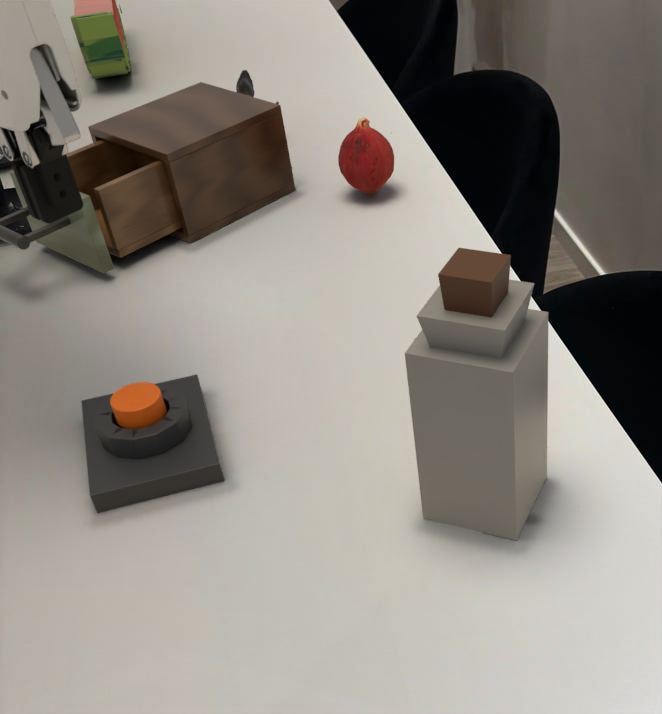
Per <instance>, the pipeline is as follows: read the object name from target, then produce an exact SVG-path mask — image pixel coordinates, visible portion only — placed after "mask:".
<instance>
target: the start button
mask: <svg viewBox="0 0 662 714" xmlns="http://www.w3.org/2000/svg"><path fill="white" fill-rule="evenodd" d="M154 384H155V383H152V382H146V381H145V382H144V381H141V382H139V381H138V382H132V383H130V384H127V385H124V386H122V387H120V388H118V389H117V390H116V391H115V392H113V393H114V394H113V393H112V394H113V395H112V397H111V399H110V405H111V407H112V410H113V413H114V415H115V418H116V421H117V423H118V424H119V426H121V427H122V428H126V429H139V428H144V427H148V426H151V425H153V424H155V423H157V422H158V421H160V420H162V419H163V418H164V417H165V415H166V411H167V409H166V406H165V403H164V400H163V397H162V394H161V391H160V389H159V388H158V387H157V386H156V385H154Z"/></svg>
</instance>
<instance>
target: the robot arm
mask: <svg viewBox="0 0 662 714" xmlns="http://www.w3.org/2000/svg"><path fill="white" fill-rule="evenodd" d="M81 91H82V90H81V88H80V83H79V80H78V76H77V71H76V69H75V66H74V63H73V59H72V57H71V53H70V51H69V48H68V45H67V42H66V38H65V37H64V34H63V31H62V29H61V26H60V23H59V21H58V18H57V15H56V13H55V10H54V8H53V5H52V3H51V0H0V149H1V151H2V153H3V155H4V156H5V158H6V159H7V160H8V161H10V162H11V163H10V165H11V169H12V170H13V171H14V173H15V176H16V178H17V181H18V184H19V186H20V189H21V191H22V194H23V196H24V199H25V201H26V204H27V206H28V209H29V212H30V214H31V216H32V217H33V218H35V219H38V220H41V221H43V222H45V223H48V224H50V223H52V222H55V221H57V220H59V219H61V218H63V217H65V216H68V215H70V214H72V213H74V212H76V211H79V210H80V209H82V208H83V201H82V198H81V195H80V192H79V189H78V187H77V184H76V181H75V178H74V175H73V172H72V170H71V167H70V164H69V161H68V158H67V155H66V154H68V153H69V147H68V144H69V143H73V142H74V141H77V140H79V139H81V136H82V133H81V131H80V128H79V126H78V124H77V121H76V119H75V118H74V116H73V113H72V112H77V111H78V110H79V109H80V107H81V105H82V101H83V98H82V92H81Z"/></svg>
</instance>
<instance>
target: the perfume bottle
mask: <svg viewBox="0 0 662 714" xmlns="http://www.w3.org/2000/svg"><path fill="white" fill-rule="evenodd" d="M511 259H512V255H511V254H507V253H500V252H493V251H492V252H491V251H485V250H479V249H470V248H465V247H458V248H456V250H455V251H454V253H453V254H452V256H450V258H449V259H448V260H447V262H446V263H445V264H444V266H443V267H442V268H441V270H440V271H439V272H438V273H437V277H438V281H439V286H438V287H437V288H436V289H435V290H434V292H433V293H432V295H431V296H430V297H429V298H428V300H427V301H426V303H425V304H424V306H423V307H422V308H421V309H420V310H419V312H418V313H417V315H416V318H417V321H418V324H419V325H420V328H421V330H420V332H419V333H418V335H417V336H416V337H415V338H414V340H413V341H412V343H411V344H410V345H409V346H408V348H407V349H406V350H405V352H404V359H405V365H406V366H405V370H406V378H407V387H408V395H409V405H410V413H411V421H412V422H411V423H412V431H413V439H414V450H415V459H416V468H417V476H418V485H419V492H420V493H419V494H420V502H421V512H422V519H423V520H426V521H431V522H435V523H440V524H444V525H448V526H453V527H457V528H462V529H466V530H470V531H474V532H479V533H482V534H486V535H489V536H495V537H498V538H504V539H507V540H512V541H518V539H519V537H520V535H521V532H522V530H523V528H524V526H525V524H526V523H527V520H528V518H529V516H530V514H531V512H532V509H533V507H534V505H535V503H536V502H537V499H538V497H539V494H540V493H541V491H542V488H543V487H544V484H545V482H546V481H547V478H548V415H549V413H548V412H549V411H548V408H549V407H548V406H549V405H548V402H549V401H548V398H549V397H548V396H549V395H548V394H549V393H548V392H549V311H544V310H538V309H532V308H529V307H530V302H531V298H532V295H533V291H534V287H535V283H534V282H530V281H529V282H528V281H524V280H523V281H522V280H515V279H510V273H511Z"/></svg>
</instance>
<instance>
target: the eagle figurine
mask: <svg viewBox="0 0 662 714" xmlns="http://www.w3.org/2000/svg"><path fill="white" fill-rule="evenodd" d="M235 91H236V92H237V93H241V94H244V95H248V96H251V97H255V89H254V84H253V79H252V78H251V75H250V73H249V72H248V70H247V69H242V71H241V72H240V74H239V77H238V79H237V82H236V85H235ZM274 103H275V104H279V105H280V102H279V101H277V100H276V102H274Z"/></svg>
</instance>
